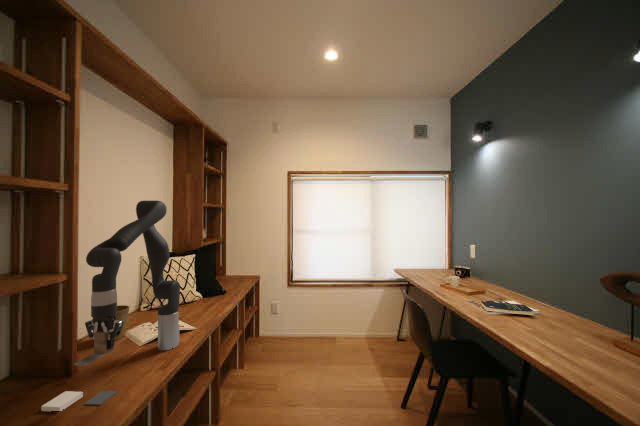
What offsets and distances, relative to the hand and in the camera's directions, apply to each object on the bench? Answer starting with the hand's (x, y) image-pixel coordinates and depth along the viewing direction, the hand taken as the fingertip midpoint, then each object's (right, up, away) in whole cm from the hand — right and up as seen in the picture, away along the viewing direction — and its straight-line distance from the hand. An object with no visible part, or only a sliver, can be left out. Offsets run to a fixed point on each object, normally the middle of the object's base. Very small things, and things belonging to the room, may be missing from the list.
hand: (104, 348), depth 100 cm
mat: (0, -17, -2) cm, 17 cm away
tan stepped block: (0, -1, -4) cm, 4 cm away
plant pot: (-34, -19, +48) cm, 62 cm away
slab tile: (-11, -17, 0) cm, 20 cm away
